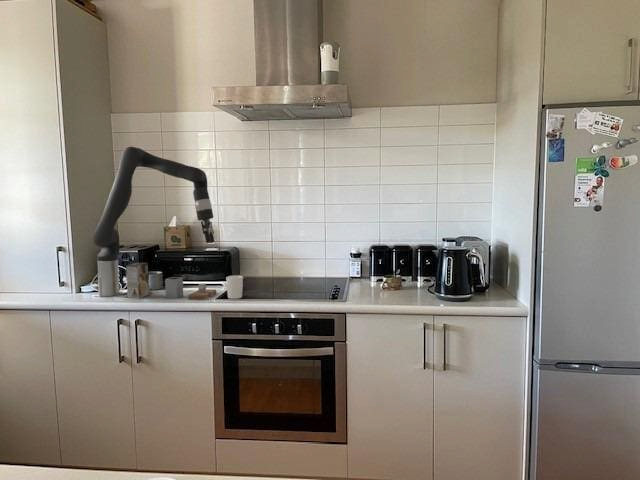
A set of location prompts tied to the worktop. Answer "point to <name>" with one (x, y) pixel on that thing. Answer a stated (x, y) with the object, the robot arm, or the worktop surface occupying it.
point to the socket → (174, 287)
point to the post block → (202, 293)
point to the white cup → (234, 286)
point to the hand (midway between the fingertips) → (210, 242)
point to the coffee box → (137, 280)
